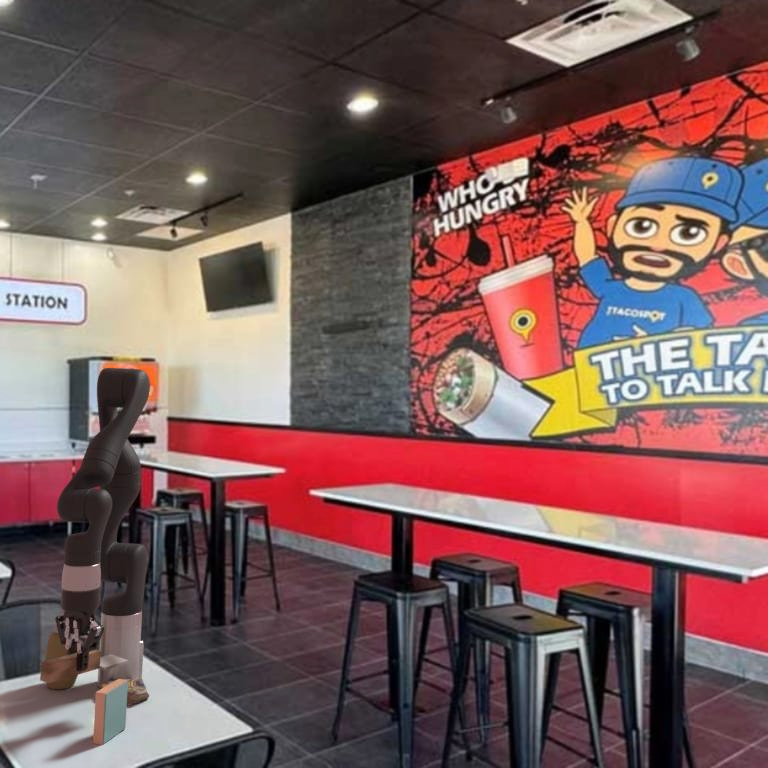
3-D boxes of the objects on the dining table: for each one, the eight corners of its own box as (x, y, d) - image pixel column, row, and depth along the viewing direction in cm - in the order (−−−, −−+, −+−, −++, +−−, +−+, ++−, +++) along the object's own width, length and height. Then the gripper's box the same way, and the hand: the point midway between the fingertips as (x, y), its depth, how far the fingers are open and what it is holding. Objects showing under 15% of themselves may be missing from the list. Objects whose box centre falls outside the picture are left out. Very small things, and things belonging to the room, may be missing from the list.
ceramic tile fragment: (91, 688, 172) (111, 672, 182) (90, 702, 172) (110, 686, 182) (143, 693, 171) (160, 678, 181) (141, 708, 171) (159, 692, 181)
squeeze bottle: (43, 681, 183) (47, 604, 184) (79, 678, 186) (84, 603, 187) (41, 693, 176) (45, 613, 176) (79, 690, 179) (83, 612, 179)
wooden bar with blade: (52, 685, 152) (54, 667, 152) (35, 678, 155) (36, 660, 155) (128, 663, 167) (129, 646, 167) (110, 656, 170) (111, 640, 170)
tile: (93, 743, 152) (95, 692, 152) (116, 727, 160) (118, 678, 160) (103, 745, 151) (106, 693, 152) (125, 729, 159) (128, 680, 159)
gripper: (118, 587, 159) (114, 671, 159) (76, 575, 167) (72, 656, 166) (86, 594, 153) (82, 682, 152) (44, 582, 160) (40, 665, 160)
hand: (77, 668), depth 159 cm, fingers closed on wooden bar with blade, 2 cm apart
